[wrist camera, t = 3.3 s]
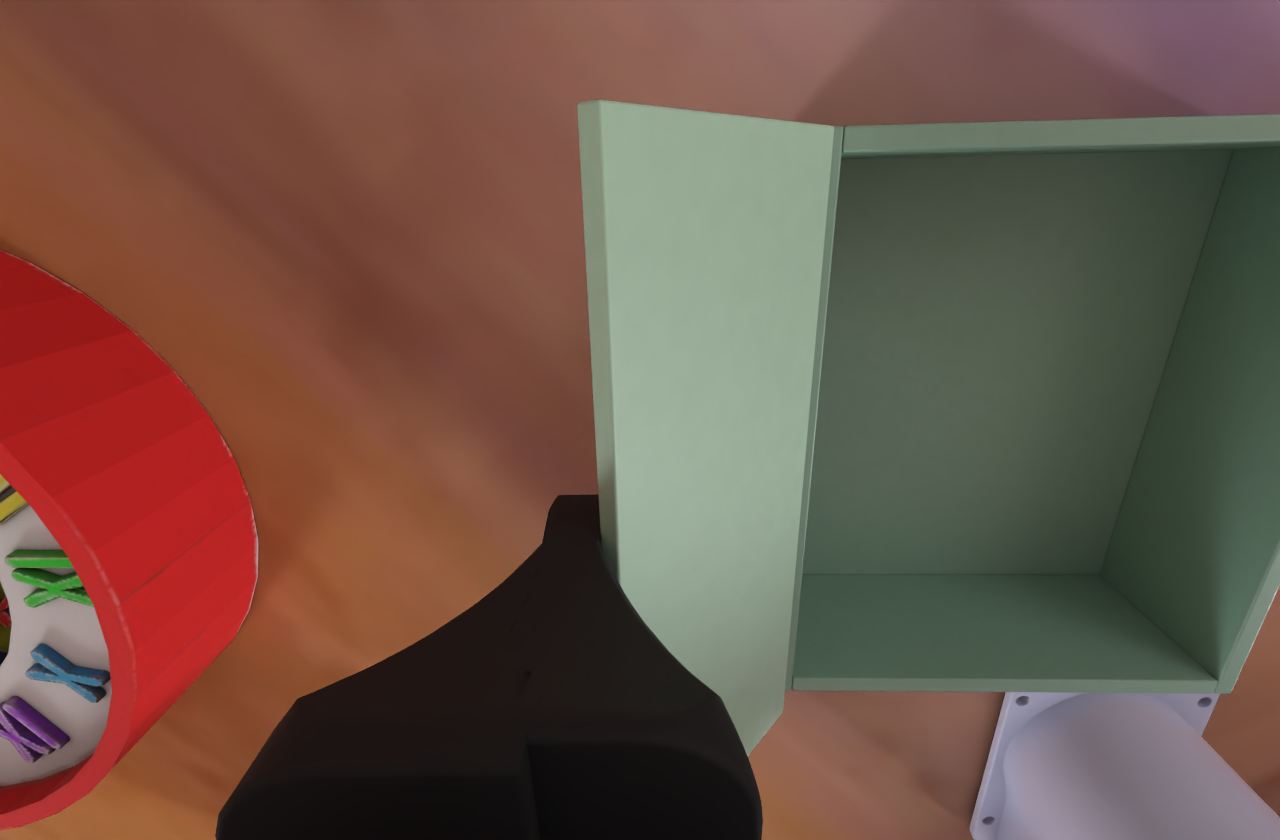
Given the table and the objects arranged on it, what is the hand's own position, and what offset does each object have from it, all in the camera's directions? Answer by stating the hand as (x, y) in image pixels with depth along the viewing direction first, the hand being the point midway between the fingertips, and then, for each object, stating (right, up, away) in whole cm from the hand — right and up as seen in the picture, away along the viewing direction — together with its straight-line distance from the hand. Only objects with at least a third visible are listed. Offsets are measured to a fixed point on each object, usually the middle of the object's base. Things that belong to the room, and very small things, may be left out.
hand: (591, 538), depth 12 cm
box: (+11, +3, +8) cm, 14 cm away
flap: (+3, 0, 0) cm, 3 cm away
